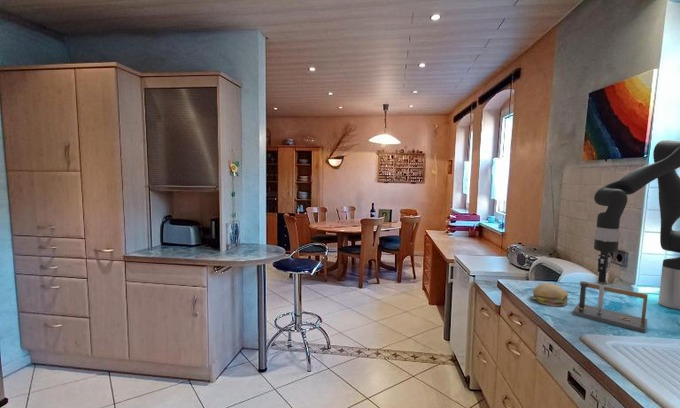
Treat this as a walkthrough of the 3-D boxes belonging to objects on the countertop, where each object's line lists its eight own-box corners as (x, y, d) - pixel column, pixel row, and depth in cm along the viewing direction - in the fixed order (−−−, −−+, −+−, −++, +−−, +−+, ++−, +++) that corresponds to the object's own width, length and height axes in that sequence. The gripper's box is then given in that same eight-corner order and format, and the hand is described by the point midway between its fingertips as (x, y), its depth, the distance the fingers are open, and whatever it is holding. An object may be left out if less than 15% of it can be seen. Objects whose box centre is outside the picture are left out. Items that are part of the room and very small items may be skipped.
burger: (573, 308, 144) (575, 290, 143) (537, 305, 147) (538, 287, 146) (560, 297, 157) (561, 281, 156) (527, 295, 159) (528, 278, 159)
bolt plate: (578, 306, 146) (580, 279, 145) (646, 322, 131) (650, 292, 130) (572, 314, 138) (575, 285, 136) (644, 333, 122) (648, 300, 121)
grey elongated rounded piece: (596, 308, 139) (599, 269, 138) (605, 310, 137) (609, 270, 136) (594, 311, 136) (597, 271, 134) (604, 314, 134) (607, 273, 132)
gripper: (597, 235, 141) (594, 275, 143) (591, 239, 131) (587, 282, 132) (620, 238, 136) (616, 279, 137) (616, 242, 126) (612, 287, 127)
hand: (602, 280), depth 135 cm, fingers open, 4 cm apart
